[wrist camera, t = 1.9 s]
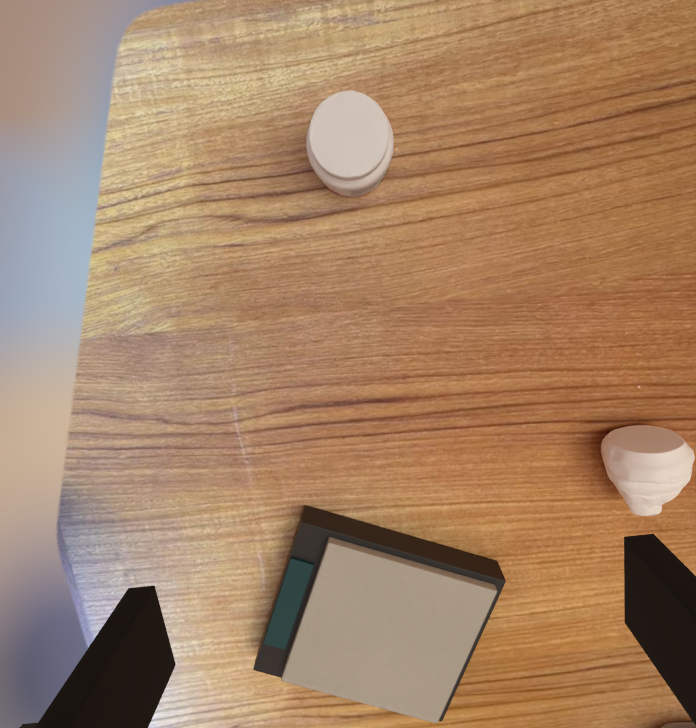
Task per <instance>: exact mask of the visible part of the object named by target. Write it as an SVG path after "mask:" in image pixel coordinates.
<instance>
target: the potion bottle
mask: <svg viewBox="0 0 696 728" xmlns="http://www.w3.org/2000/svg"><path fill="white" fill-rule="evenodd" d="M661 728H696V725H695V724H694V722H675V723H667V724H665V725H664V726H662V727H661Z"/></svg>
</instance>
